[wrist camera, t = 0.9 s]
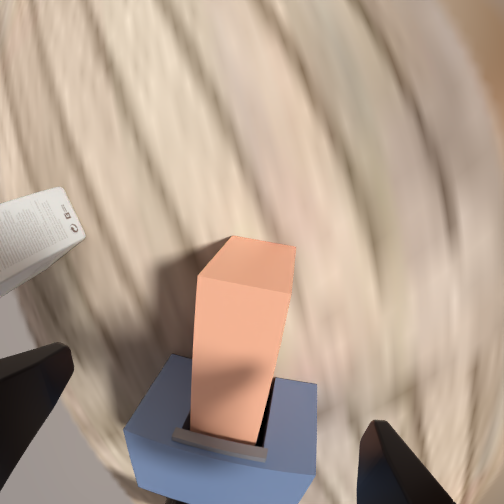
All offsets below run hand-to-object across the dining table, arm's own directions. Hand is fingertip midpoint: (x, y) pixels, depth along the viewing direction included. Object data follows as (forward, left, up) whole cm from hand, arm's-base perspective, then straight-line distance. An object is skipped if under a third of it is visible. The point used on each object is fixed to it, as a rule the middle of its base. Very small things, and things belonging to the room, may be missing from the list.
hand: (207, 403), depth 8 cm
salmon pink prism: (-5, 0, -11) cm, 12 cm away
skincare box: (0, +15, -11) cm, 18 cm away
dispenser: (-11, 0, -11) cm, 15 cm away
